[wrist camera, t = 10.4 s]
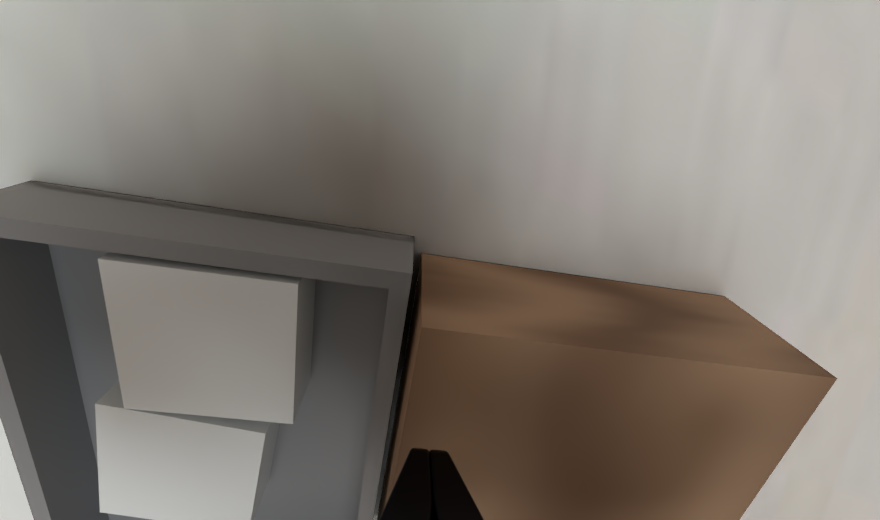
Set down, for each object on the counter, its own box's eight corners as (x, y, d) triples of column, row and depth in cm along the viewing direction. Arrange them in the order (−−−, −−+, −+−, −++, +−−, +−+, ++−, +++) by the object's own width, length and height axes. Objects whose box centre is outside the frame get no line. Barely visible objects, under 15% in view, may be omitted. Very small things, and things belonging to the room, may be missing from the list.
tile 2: (97, 259, 10) (149, 229, 11) (123, 408, 11) (165, 362, 13) (297, 284, 10) (317, 252, 12) (293, 424, 12) (310, 377, 14)
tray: (414, 236, 12) (412, 273, 10) (366, 538, 18) (358, 607, 16) (31, 180, 11) (-69, 207, 9) (107, 520, 17) (58, 591, 14)
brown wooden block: (725, 296, 14) (836, 378, 10) (604, 533, 18) (651, 648, 15) (421, 253, 12) (421, 327, 9) (377, 516, 17) (365, 634, 14)
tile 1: (94, 403, 11) (140, 357, 13) (99, 511, 13) (139, 457, 15) (265, 433, 12) (286, 385, 14) (248, 532, 14) (269, 478, 15)
